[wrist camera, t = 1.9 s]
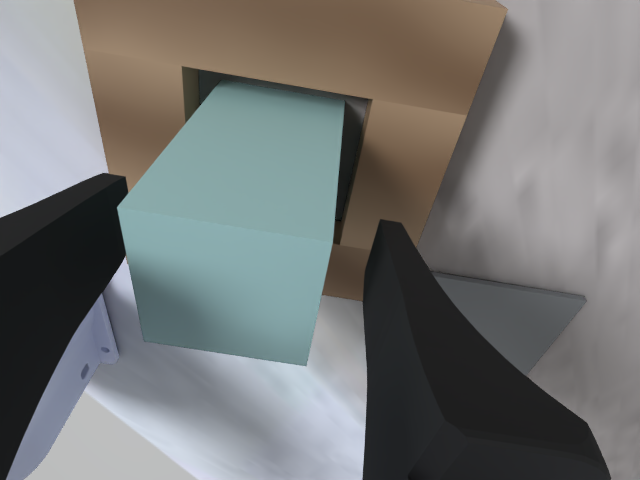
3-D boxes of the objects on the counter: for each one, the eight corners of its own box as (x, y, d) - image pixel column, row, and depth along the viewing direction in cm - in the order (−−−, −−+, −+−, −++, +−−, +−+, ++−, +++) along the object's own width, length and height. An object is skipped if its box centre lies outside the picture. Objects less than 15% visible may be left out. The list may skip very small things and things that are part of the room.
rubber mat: (510, 388, 25) (512, 392, 24) (378, 367, 24) (378, 372, 24) (583, 296, 20) (586, 300, 19) (418, 269, 19) (418, 273, 19)
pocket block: (391, 281, 20) (393, 306, 19) (142, 241, 20) (127, 263, 18) (493, -2, 12) (507, 9, 11) (90, -76, 12) (58, -73, 11)
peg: (326, 202, 17) (306, 366, 11) (222, 185, 17) (144, 341, 11) (344, 100, 15) (332, 242, 8) (221, 79, 15) (116, 207, 8)
